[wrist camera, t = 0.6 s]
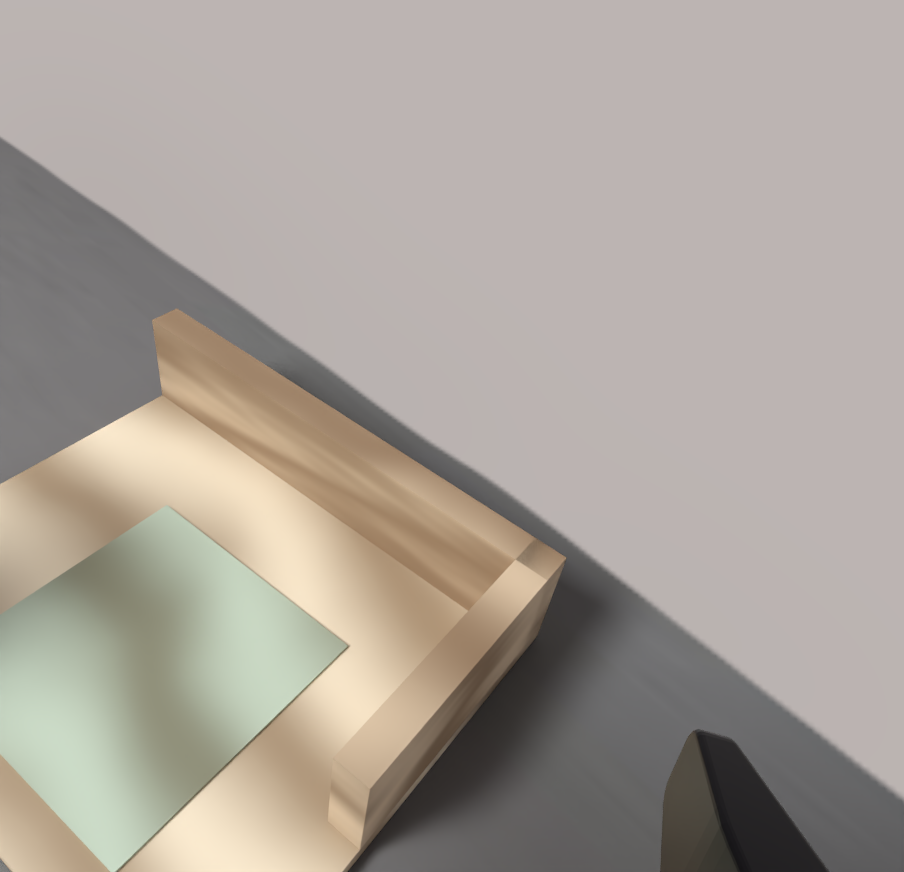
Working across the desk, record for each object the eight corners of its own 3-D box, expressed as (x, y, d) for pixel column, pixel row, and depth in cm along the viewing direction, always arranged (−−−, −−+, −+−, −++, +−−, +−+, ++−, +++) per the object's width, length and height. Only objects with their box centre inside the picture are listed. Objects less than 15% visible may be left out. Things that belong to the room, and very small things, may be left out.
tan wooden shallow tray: (186, 1072, 18) (166, 1028, 15) (-212, 615, 25) (-280, 522, 22) (536, 636, 29) (566, 557, 25) (186, 393, 35) (177, 308, 32)
